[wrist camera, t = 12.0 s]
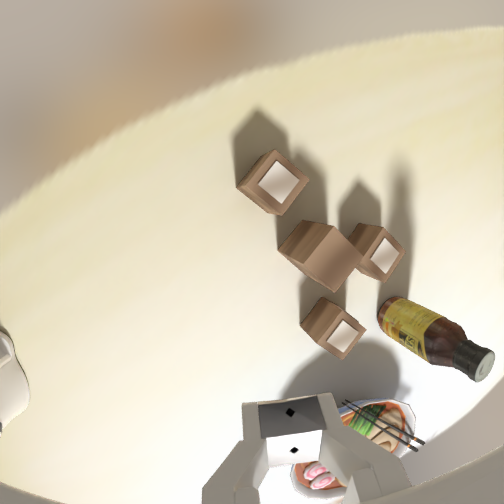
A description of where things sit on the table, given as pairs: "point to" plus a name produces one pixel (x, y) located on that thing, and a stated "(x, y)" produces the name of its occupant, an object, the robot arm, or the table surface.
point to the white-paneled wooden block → (376, 251)
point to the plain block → (321, 253)
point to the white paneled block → (332, 328)
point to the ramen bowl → (371, 426)
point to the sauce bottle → (434, 338)
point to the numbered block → (273, 183)
